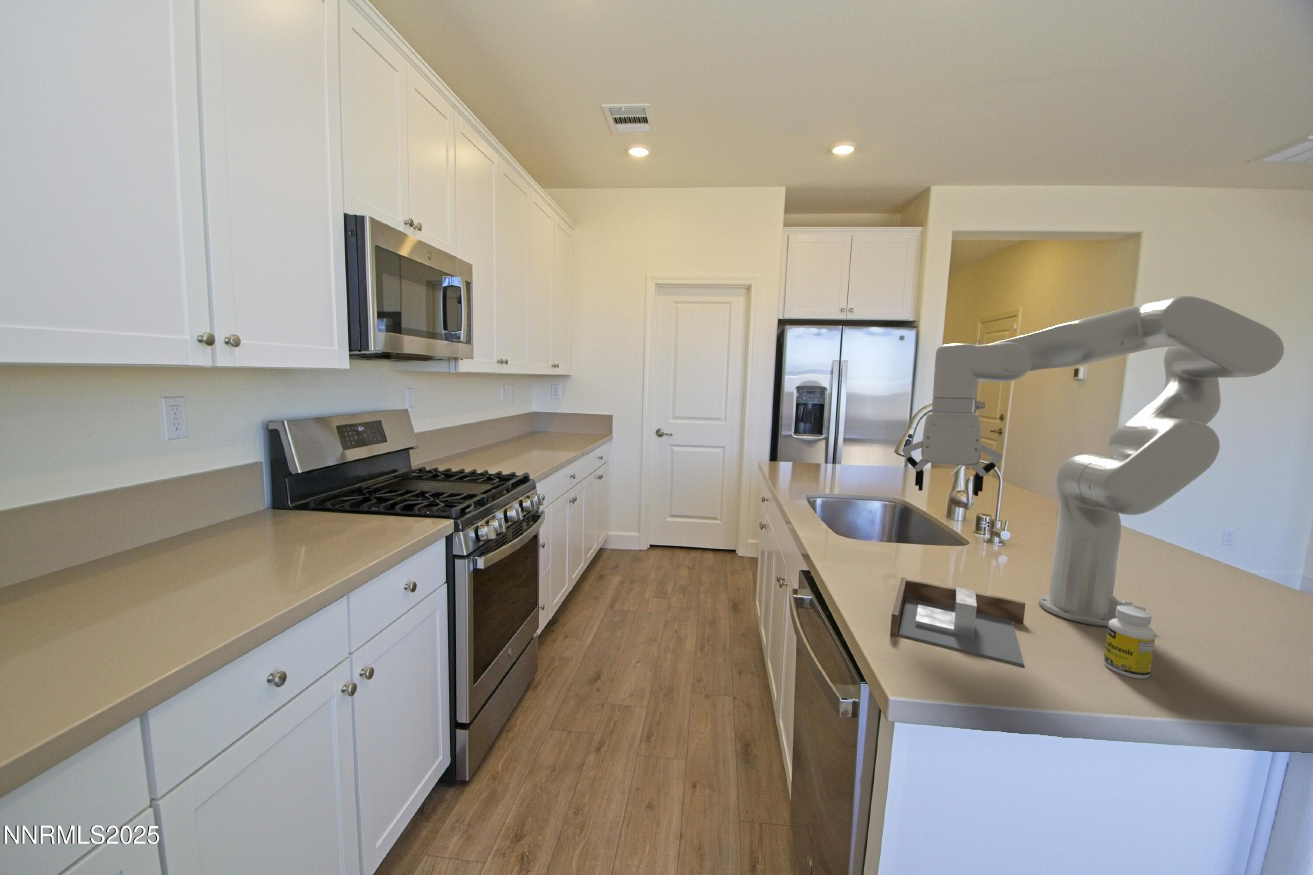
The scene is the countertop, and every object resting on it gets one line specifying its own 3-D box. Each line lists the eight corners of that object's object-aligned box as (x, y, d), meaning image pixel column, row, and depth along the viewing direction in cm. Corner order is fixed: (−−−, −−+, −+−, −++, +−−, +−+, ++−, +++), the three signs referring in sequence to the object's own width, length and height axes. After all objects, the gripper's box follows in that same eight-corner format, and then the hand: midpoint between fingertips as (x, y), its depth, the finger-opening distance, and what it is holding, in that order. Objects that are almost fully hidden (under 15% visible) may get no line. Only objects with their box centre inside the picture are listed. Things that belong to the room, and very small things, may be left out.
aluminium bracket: (973, 639, 87) (976, 606, 87) (915, 625, 92) (918, 594, 91) (972, 621, 94) (975, 590, 94) (917, 609, 99) (920, 579, 98)
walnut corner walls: (1022, 620, 96) (1024, 600, 96) (1038, 672, 78) (1041, 648, 78) (899, 595, 106) (901, 576, 106) (889, 635, 89) (891, 613, 88)
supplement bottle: (1094, 660, 82) (1101, 603, 81) (1124, 660, 83) (1132, 602, 82) (1127, 680, 77) (1135, 618, 76) (1160, 679, 77) (1168, 618, 76)
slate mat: (1011, 622, 95) (1012, 620, 95) (1023, 666, 80) (1024, 664, 80) (906, 599, 104) (906, 597, 104) (898, 635, 89) (898, 633, 89)
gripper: (1002, 408, 99) (995, 493, 101) (905, 405, 107) (900, 484, 109) (1009, 409, 93) (1001, 500, 94) (904, 406, 100) (899, 491, 102)
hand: (947, 492), depth 102 cm, fingers open, 9 cm apart
